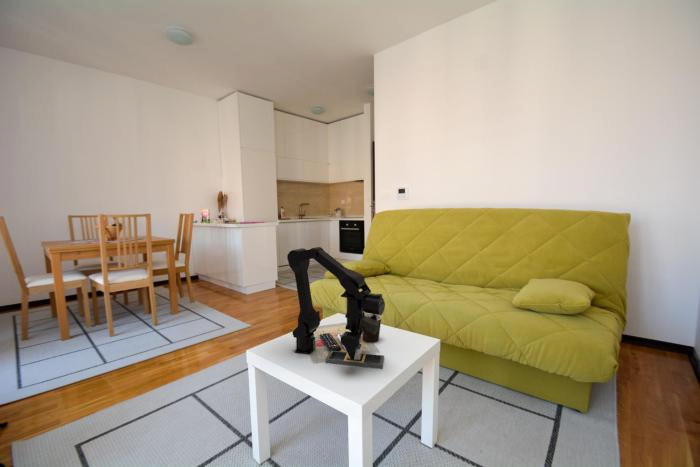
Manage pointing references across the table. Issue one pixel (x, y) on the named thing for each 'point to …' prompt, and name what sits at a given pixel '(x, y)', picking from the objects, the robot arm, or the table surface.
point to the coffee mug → (368, 335)
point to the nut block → (357, 354)
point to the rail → (367, 361)
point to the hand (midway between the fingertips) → (355, 353)
